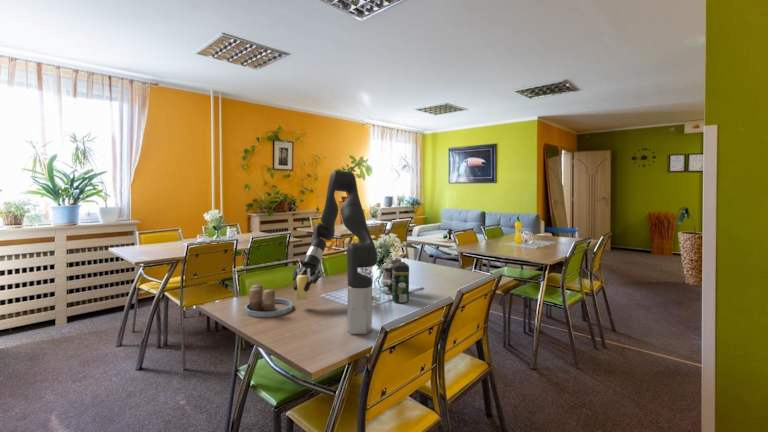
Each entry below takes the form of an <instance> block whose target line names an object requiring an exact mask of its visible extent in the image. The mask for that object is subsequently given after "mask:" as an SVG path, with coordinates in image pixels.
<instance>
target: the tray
mask: <svg viewBox="0 0 768 432" xmlns="http://www.w3.org/2000/svg"><path fill="white" fill-rule="evenodd" d="M275 304H283V305H286V307H284V308H281V309H278V310H277V309H275V311H268V312H264V301H263V308H262V311H261V312H257V311H252V310H250V308H249V302H248V303H246V304H245V305H244V314H245V315H247V316H249V317H254V318H273V317H278V316H282V315H285V314H287V313H289V312H291V311H292V310H293V308H294V307H293V306H294V304H293V302H292V300H289V299H288V298H287V299H286V298H281V297H279V298H278V297H275Z"/></svg>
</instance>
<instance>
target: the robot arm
mask: <svg viewBox="0 0 768 432" xmlns="http://www.w3.org/2000/svg"><path fill="white" fill-rule="evenodd" d="M336 192H343V193H344V192H345V193H347V195H348V196H347V197H346V199H345V200H344V201H343V203H342V205H341V207H340V216H341V221H342V224H343V225H344V227H345V228H346V229H347V230H348V231H349V232H350V233H351V234H353V235H354V236H355V237H356V238H357V240H359V242H352V243H349V244H348V246H347V249H346V266H347V267H346V269H347V271H346V274H347V308H346V309H347V314H346V315H347V317H346V318H347V326H346V330H347V332H348V333H349V334H350V335H367V334H369V333H370V332H372V327H373V325H372V324H373V323H372V322H373V321H372V320H373V319H372V317H373V316H372V315H373V313H372V312H373V279H372V276H371V277H370V276H369V275H367V274H362V273H361V272H359V268H360V269H361V268H372V267H375V266H376V265H377V262H378V253H377V248H376V245H375V242H374V240H373V238H372V236H371V235H372V234H371V233H370V230H369V228H368V224H367V220H366V216H365V212H364V208H363V206H362V203H361V200H360V196H359V190H358V185H357V179H356V176H355V174H354V173H353V172H351V171H345V170H338V169H334V170H332V172H331V174H330V176H329V180H328V185H327V191H326V196H325V197H326V198H325V203H324V207H323V210H322V213H321V217H320V222H317V223H316V224H314V227H313V230H312V231H313V232H312V241H311V244H310V245H309V248H308V249H307V251H306V254H305V256H304V258H303V260H302V263H301V266H300V267H299V268H298V269H297V268H293V270H292V281H293V282H294V284H293V286H292V288H293V290H294V291H295V292H297V276H299V275H307V277H308V282H307V283H306V285H305V288H304V291H305V292H307V291H309V290H310V287H311V285H316V283H317V282H318V281H319V279H320V278H321V276H322V275H323V273H322V271H321V270H318V269H319V267H320V264H321V261H322V259H323V255H324V252H325V250H326V248H327V242H326V241H331V240H332V239H333V238H334V236H335V233H336V231H335V230H336V229H335V228H336V227H335V226H336V225H335V224H336V220H337V217H338V215H339V205H338V203H337V201H336V197H335V193H336Z"/></svg>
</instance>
